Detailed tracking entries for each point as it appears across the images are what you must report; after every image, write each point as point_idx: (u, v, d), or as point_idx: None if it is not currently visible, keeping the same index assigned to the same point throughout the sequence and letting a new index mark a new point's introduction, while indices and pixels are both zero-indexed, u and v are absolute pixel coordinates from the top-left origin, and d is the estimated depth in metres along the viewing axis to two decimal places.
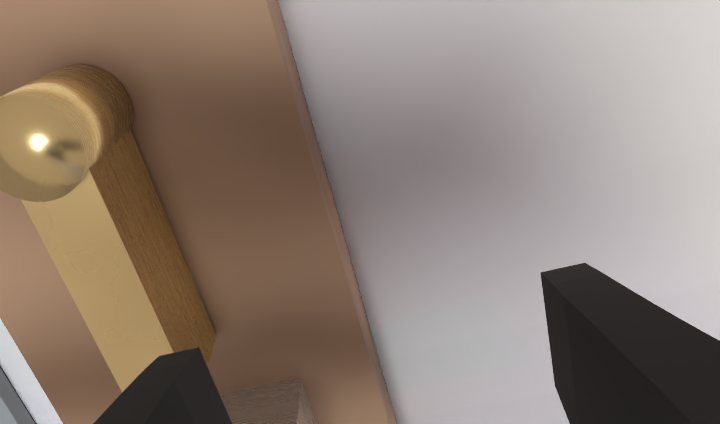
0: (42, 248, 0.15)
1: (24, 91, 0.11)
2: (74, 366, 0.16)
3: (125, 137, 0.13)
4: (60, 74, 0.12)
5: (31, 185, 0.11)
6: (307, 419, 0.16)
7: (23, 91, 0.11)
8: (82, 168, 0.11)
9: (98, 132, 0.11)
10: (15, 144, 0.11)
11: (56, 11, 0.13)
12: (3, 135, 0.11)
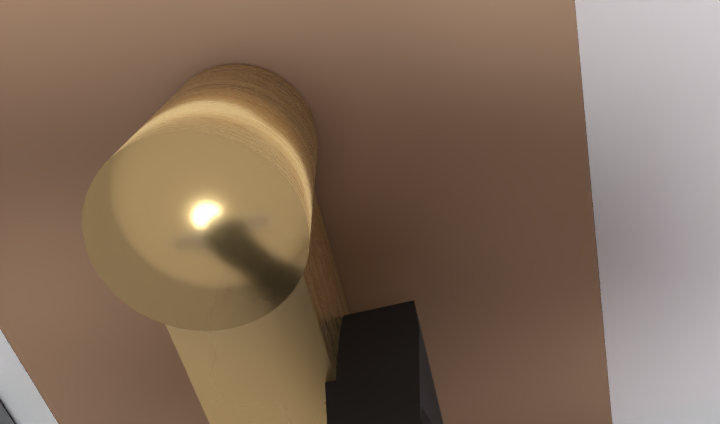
0: (148, 354, 0.09)
1: (195, 120, 0.05)
2: None
3: None
4: (227, 83, 0.07)
5: (195, 302, 0.06)
6: None
7: (193, 120, 0.05)
8: (301, 271, 0.06)
9: (311, 194, 0.06)
10: (174, 226, 0.05)
11: None
12: (153, 208, 0.05)
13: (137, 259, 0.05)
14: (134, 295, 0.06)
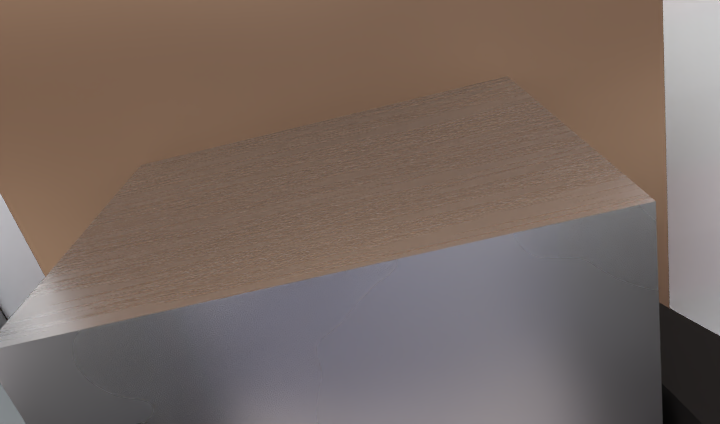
0: None
1: None
2: (15, 35, 0.07)
3: None
4: None
5: None
6: None
7: None
8: None
9: None
10: None
11: None
12: None
13: None
14: None
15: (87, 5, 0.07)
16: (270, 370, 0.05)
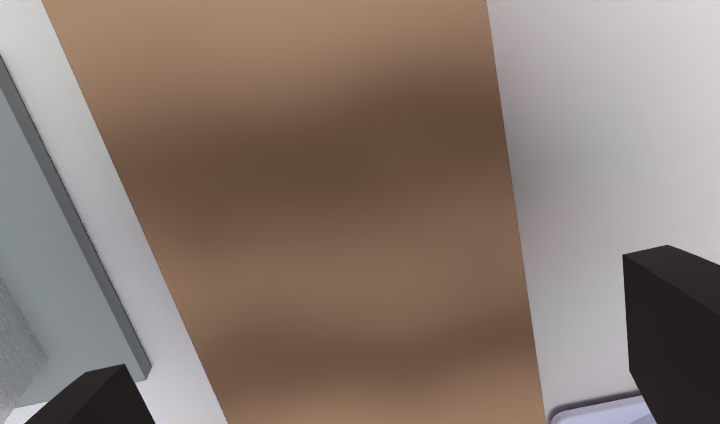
0: None
1: None
2: (155, 140, 0.14)
3: None
4: None
5: None
6: None
7: None
8: None
9: None
10: None
11: None
12: None
13: None
14: None
15: (195, 124, 0.14)
16: None
